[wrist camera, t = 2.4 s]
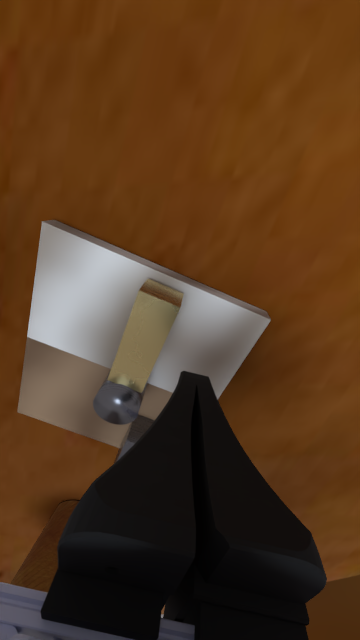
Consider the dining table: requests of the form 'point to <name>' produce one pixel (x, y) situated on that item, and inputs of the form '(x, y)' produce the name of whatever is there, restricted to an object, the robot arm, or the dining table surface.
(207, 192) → the dining table surface
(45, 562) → the disposable coffee cup
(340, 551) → the dining table surface
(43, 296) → the door edge board
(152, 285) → the bar
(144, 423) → the keeper block
